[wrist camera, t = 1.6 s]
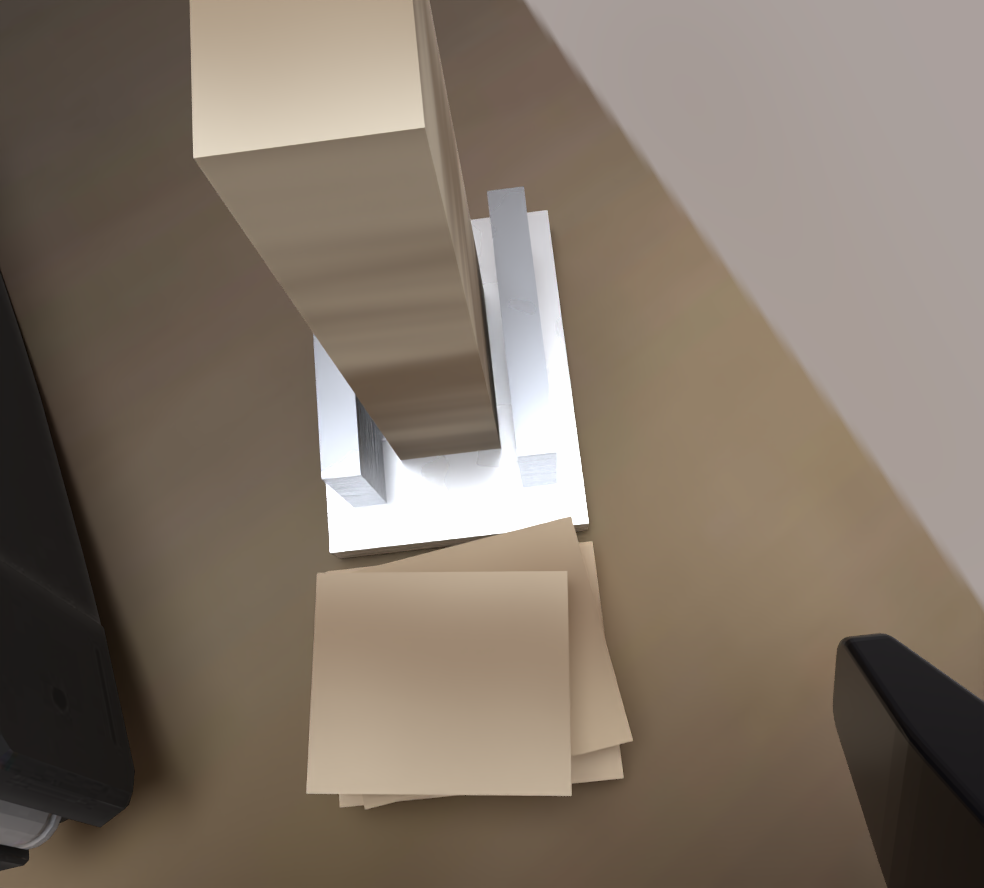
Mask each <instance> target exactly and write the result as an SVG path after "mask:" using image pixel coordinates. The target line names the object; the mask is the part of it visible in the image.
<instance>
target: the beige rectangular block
mask: <svg viewBox="0 0 984 888" xmlns="http://www.w3.org/2000/svg"><path fill="white" fill-rule="evenodd" d="M190 30H191V74H192V118H193V158H194V160H195V161H196V163H197V164H198V166H199V167H200V168H201V170H202V171H203V173H204V174H205V176H206V177H207V179H208V180H209V182H210V183H211V185H212V186H213V187H214V189H215V190H216V192H217V193H218V195H219V196H220V198H221V199H222V201H223V202H224V203H225V205H226V206H227V208H228V209H229V211H230V212H231V214H232V215H233V217H234V218H235V220H236V221H237V222H238V224H239V225H240V227H241V228H242V230H243V231H244V233H245V234H246V236H247V237H248V239H249V240H250V241H251V243H252V244H253V246H254V247H255V249H256V250H257V252H258V253H259V255H260V256H261V257H262V259H263V260H264V262H265V263H266V265H267V266H268V268H269V269H270V271H271V272H272V274H273V275H274V276H275V278H276V279H277V281H278V282H279V284H280V285H281V287H282V288H283V290H284V291H285V293H286V294H287V295H288V297H289V298H290V300H291V301H292V303H293V304H294V306H295V307H296V309H297V310H298V311H299V313H300V314H301V316H302V317H303V319H304V320H305V322H306V323H307V325H308V326H309V328H310V329H311V330H312V332H313V333H314V335H315V336H316V338H317V339H318V341H319V342H320V344H321V345H322V347H323V348H324V349H325V351H326V352H327V354H328V355H329V357H330V358H331V360H332V361H333V363H334V364H335V365H336V367H337V368H338V370H339V371H340V373H341V374H342V376H343V377H344V379H345V380H346V382H347V383H348V384H349V386H350V387H351V389H352V390H353V392H354V393H355V395H356V396H357V398H358V399H359V401H360V402H361V403H362V405H363V406H364V408H365V409H366V411H367V412H368V414H369V415H370V417H371V418H372V419H373V421H374V422H375V424H376V425H377V427H378V428H379V430H380V431H381V433H382V434H383V436H384V437H385V438H386V440H387V441H388V443H389V444H390V446H391V447H392V449H393V450H394V452H395V453H396V455H397V456H398V457H399V459H400V460H407V459H415V458H424V457H432V456H441V455H449V454H458V453H466V452H475V451H483V450H491V449H500V448H501V440H500V431H499V422H498V413H497V404H496V395H495V386H494V377H493V368H492V359H491V349H490V340H489V331H488V322H487V313H486V304H485V295H484V288H483V283H482V278H481V272H480V267H479V262H478V257H477V251H476V246H475V241H474V235H473V230H472V225H471V219H470V214H469V209H468V203H467V198H466V193H465V188H464V182H463V177H462V172H461V166H460V161H459V156H458V150H457V145H456V140H455V134H454V129H453V124H452V118H451V113H450V108H449V103H448V97H447V92H446V87H445V81H444V76H443V71H442V65H441V60H440V55H439V49H438V44H437V39H436V33H435V28H434V23H433V18H432V12H431V7H430V2H429V0H190Z"/></svg>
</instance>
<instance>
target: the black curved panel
mask: <svg viewBox="0 0 984 888" xmlns="http://www.w3.org/2000/svg"><path fill="white" fill-rule="evenodd" d="M134 773H135V770H134V766H133V761H132V756H131V752H130V747H129V743H128V738H127V733H126V729H125V724H124V719H123V715H122V710H121V706H120V701H119V696H118V692H117V687H116V682H115V678H114V673H113V669H112V664H111V659H110V655H109V650H108V645H107V641H106V636H105V631H104V627H102V626H101V623H100V619H99V615H98V611H97V607H96V603H95V599H94V595H93V591H92V587H91V583H90V579H89V575H88V571H87V567H86V563H85V560H84V556H83V552H82V548H81V545H80V541H79V537H78V534H77V530H76V526H75V523H74V519H73V515H72V512H71V508H70V504H69V501H68V497H67V493H66V490H65V486H64V482H63V478H62V475H61V471H60V467H59V464H58V460H57V456H56V453H55V449H54V445H53V442H52V438H51V434H50V431H49V427H48V423H47V420H46V416H45V412H44V409H43V405H42V401H41V398H40V395H39V391H38V388H37V385H36V382H35V378H34V375H33V372H32V369H31V366H30V362H29V359H28V356H27V353H26V349H25V346H24V343H23V340H22V336H21V333H20V330H19V327H18V324H17V321H16V318H15V315H14V312H13V309H12V306H11V303H10V300H9V297H8V294H7V291H6V288H5V285H4V282H3V279H2V276H1V273H0V871H1V870H5V869H10V868H14V867H18V866H23V865H24V864H25V863H26V862H27V861H28V860H29V849H31V848H35V847H38V846H40V845H41V844H43V843H44V842H45V841H47V840H48V839H49V838H50V837H51V836H52V834H53V833H54V832H55V830H56V829H57V828H58V825H59V823H61V822H63V821H65V820H67V819H72V820H75V821H79V822H83V823H86V824H90V825H94V826H97V827H101V826H103V825H104V824H105V823H107V822H108V821H109V820H111V819H112V818H113V817H115V816H116V815H117V814H118V813H120V812H121V811H122V810H124V809H125V808H126V807H127V806H128V805H129V802H130V799H131V796H132V792H133V784H134Z"/></svg>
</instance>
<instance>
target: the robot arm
mask: <svg viewBox="0 0 984 888" xmlns="http://www.w3.org/2000/svg"><path fill="white" fill-rule="evenodd" d="M833 714H834V720H835V725H836V729H837V732H838V735H839V738H840V742H841V745H842V748H843V751H844V754H845V757H846V760H847V764H848V767H849V770H850V773H851V776H852V779H853V783H854V786H855V789H856V792H857V795H858V798H859V801H860V805H861V808H862V811H863V814H864V817H865V820H866V824H867V827H868V830H869V833H870V836H871V839H872V842H873V846H874V849H875V852H876V855H877V858H878V861H879V864H880V867H881V870H882V873H883V876H884V879H885V882H886V885H887V888H984V701H983V700H981V699H980V698H978V697H977V696H975V695H974V694H973V693H971V692H970V691H968V690H967V689H966V688H964V687H963V686H961V685H960V684H958V683H957V682H956V681H954V680H953V679H951V678H950V677H949V676H947V675H946V674H944V673H943V672H942V671H940V670H939V669H937V668H936V667H934V666H933V665H932V664H930V663H929V662H927V661H926V660H925V659H923V658H922V657H920V656H919V655H918V654H916V653H915V652H913V651H912V650H910V649H909V648H908V647H906V646H905V645H903V644H902V643H901V642H899V641H898V640H896V639H895V638H893V637H892V636H889V635H887V634H882V633H878V634H869V635H860V636H850V637H846V638H844V639H842V640H841V641H840V643H839V645H838V648H837V655H836V668H835V681H834V693H833Z"/></svg>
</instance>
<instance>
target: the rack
mask: <svg viewBox="0 0 984 888" xmlns="http://www.w3.org/2000/svg"><path fill="white" fill-rule="evenodd" d="M487 194H488V203H489V212H490V218H482V219H474V220H471V225H472V230H473V235H474V241H475V246H476V251H477V257H478V262H479V267H480V272H481V278H482V283H483V288H484V295H485V304H486V313H487V322H488V331H489V340H490V349H491V359H492V368H493V377H494V386H495V395H496V404H497V413H498V422H499V431H500V440H501V448H500V449H491V450H483V451H475V452H466V453H458V454H449V455H441V456H432V457H424V458H415V459H407V460H400V459H399V457H398V456H397V455H396V453H395V452H394V450H393V449H392V447H391V446H390V444H389V443H388V441H387V440H386V438H385V437H384V436H383V434H382V433H381V431H380V430H379V428H378V427H377V425H376V424H375V422H374V421H373V419H372V418H371V417H370V415H369V414H368V412H367V411H366V409H365V408H364V406H363V405H362V403H361V402H360V401H359V399H358V398H357V396H356V395H355V393H354V392H353V390H352V389H351V387H350V386H349V384H348V383H347V382H346V380H345V379H344V377H343V376H342V374H341V373H340V371H339V370H338V368H337V367H336V365H335V364H334V363H333V361H332V360H331V358H330V357H329V355H328V354H327V352H326V351H325V349H324V348H323V347H322V345H321V344H320V342H319V341H318V339H317V338H316V336H315V335H314V333H313V337H314V354H315V372H316V389H317V406H318V424H319V441H320V459H321V476H322V480H323V481H324V482H325V483H326V489H327V506H328V523H329V540H330V553H331V554H333V555H335V556H336V557H338V558H340V559H341V558H350V557H359V556H368V555H376V554H385V553H394V552H403V551H412V550H420V549H429V548H438V547H447V546H455V545H459V544H463V543H467V542H471V541H475V540H479V539H483V538H487V537H491V536H494V535H498V534H502V533H506V532H510V531H514V530H518V529H522V528H525V527H529V526H533V525H537V524H541V523H545V522H549V521H553V520H556V519H560V518H564V517H568V516H571V517H572V520H573V524H574V528H575V531H576V532H578V531H587V530H588V524H589V521H588V514H587V506H586V499H585V491H584V484H583V476H582V469H581V461H580V453H579V446H578V438H577V431H576V423H575V416H574V408H573V400H572V393H571V385H570V378H569V370H568V363H567V355H566V348H565V340H564V332H563V325H562V317H561V310H560V302H559V295H558V287H557V280H556V272H555V264H554V257H553V249H552V242H551V234H550V227H549V219H548V212H547V210H545V211H537V212H529V213H527V210H526V202H525V194H524V187H516V188H508V189H501V190H493V191H487Z"/></svg>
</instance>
